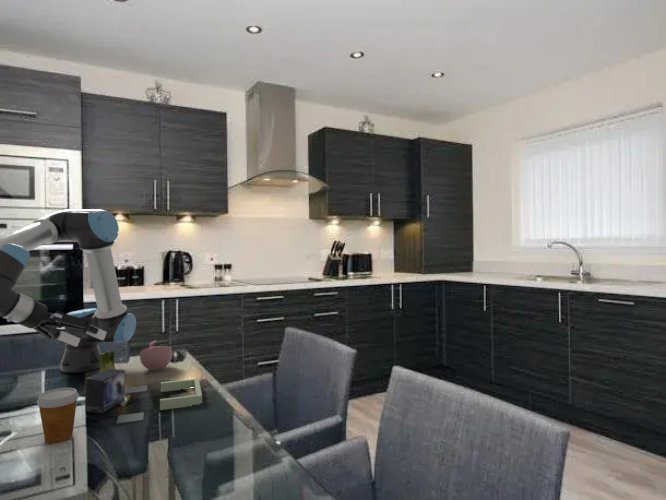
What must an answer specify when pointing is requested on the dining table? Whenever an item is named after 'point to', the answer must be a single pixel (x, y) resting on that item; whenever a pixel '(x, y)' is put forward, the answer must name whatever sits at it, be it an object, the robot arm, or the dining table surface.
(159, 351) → the mortar and pestle
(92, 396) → the small box
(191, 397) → the track
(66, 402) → the disposable coffee cup
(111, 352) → the fennel bulb
